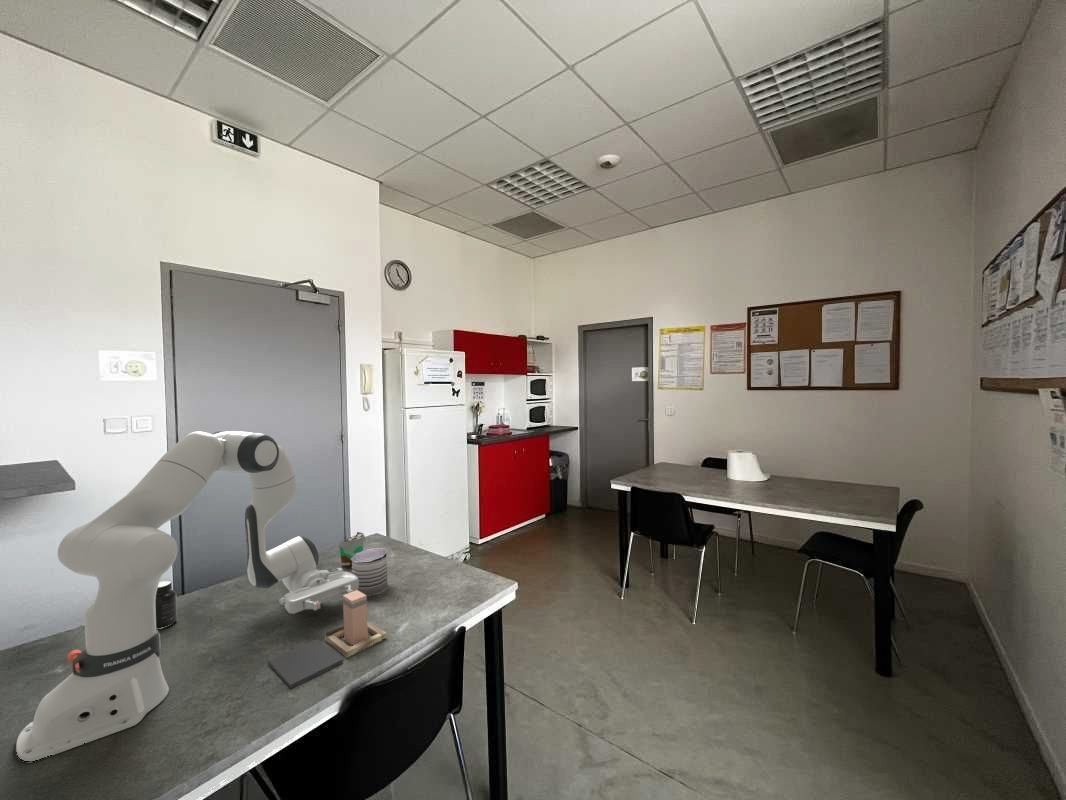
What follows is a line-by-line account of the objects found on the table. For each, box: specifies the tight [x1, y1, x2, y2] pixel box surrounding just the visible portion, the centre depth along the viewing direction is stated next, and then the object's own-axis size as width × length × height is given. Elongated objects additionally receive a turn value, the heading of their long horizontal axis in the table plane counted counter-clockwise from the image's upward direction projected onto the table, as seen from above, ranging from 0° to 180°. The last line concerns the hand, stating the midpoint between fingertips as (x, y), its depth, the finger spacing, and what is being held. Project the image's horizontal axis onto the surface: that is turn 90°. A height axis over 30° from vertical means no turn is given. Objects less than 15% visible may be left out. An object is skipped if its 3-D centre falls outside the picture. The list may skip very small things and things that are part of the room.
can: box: [351, 547, 389, 597], centre depth 149 cm, size 11×11×12 cm
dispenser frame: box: [324, 619, 388, 658], centre depth 119 cm, size 11×12×2 cm
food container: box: [338, 531, 366, 568], centre depth 171 cm, size 12×6×10 cm, turn 168°
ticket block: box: [342, 590, 369, 646], centre depth 119 cm, size 4×5×12 cm
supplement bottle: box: [155, 580, 178, 628], centre depth 128 cm, size 7×7×12 cm
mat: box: [267, 638, 344, 689], centre depth 109 cm, size 12×14×1 cm
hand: (334, 600), depth 126 cm, fingers open, 8 cm apart
